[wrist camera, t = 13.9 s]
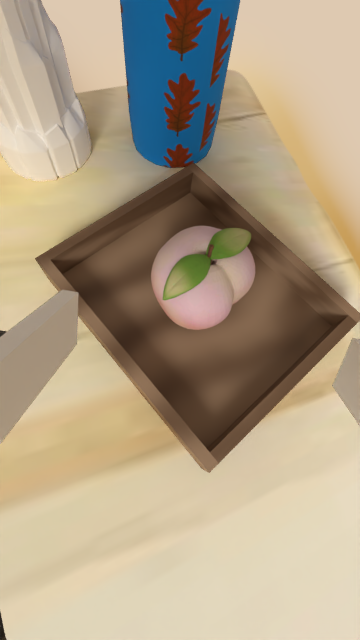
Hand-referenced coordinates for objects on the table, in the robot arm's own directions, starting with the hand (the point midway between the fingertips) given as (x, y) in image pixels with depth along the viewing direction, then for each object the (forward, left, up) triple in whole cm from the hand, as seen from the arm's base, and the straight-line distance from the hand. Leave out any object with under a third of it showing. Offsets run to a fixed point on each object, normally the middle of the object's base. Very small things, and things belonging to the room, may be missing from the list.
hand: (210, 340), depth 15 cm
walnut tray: (-6, +7, -16) cm, 18 cm away
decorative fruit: (-6, +7, -15) cm, 17 cm away
